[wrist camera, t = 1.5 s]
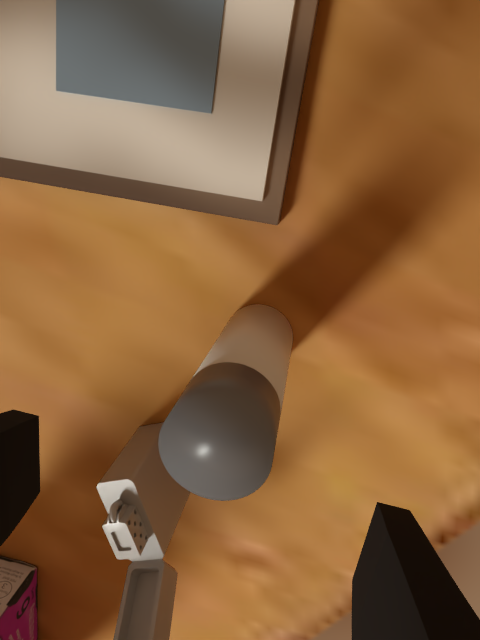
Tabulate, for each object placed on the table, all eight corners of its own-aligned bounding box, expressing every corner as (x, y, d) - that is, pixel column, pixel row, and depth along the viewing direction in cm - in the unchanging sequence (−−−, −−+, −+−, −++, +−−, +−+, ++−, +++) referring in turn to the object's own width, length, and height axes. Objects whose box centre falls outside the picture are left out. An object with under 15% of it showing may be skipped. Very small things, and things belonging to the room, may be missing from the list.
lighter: (136, 427, 22) (38, 559, 14) (167, 421, 21) (83, 555, 14) (181, 538, 23) (115, 708, 16) (210, 535, 23) (157, 708, 15)
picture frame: (279, 223, 17) (274, 228, 15) (-74, 161, 19) (-117, 160, 17) (349, -170, 13) (354, -228, 11) (-108, -199, 15) (-169, -253, 13)
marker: (286, 374, 19) (261, 512, 11) (221, 360, 20) (153, 485, 12) (299, 311, 18) (282, 415, 10) (231, 298, 19) (163, 388, 11)
